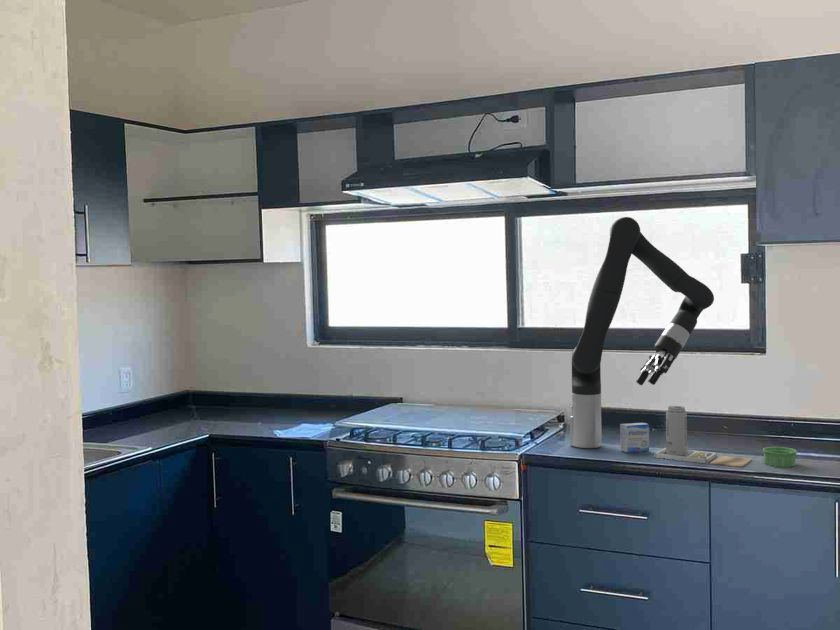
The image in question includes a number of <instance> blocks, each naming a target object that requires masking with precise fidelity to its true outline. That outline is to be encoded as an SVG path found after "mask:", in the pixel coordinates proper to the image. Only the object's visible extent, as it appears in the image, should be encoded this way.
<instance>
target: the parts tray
mask: <svg viewBox="0 0 840 630" xmlns="http://www.w3.org/2000/svg"><path fill="white" fill-rule="evenodd" d="M665 452H666V447H664V448H662V449H660V450H659V451H656V452H655V453H654V455H653V456H654V457H656V459H663V458H665V459H666V460H672V459H675V461H681V460H683V462H691V463H692V462H693V463H701V464H709V463H710V462H712V461H713V460H715V459H716V458H718V456H717V455H718V453H717V452H714V451H713V452H711V451H701V450H693V449H687V454H686V455H687V456H686V455H685V456H676V455H668V454H667V453H665ZM690 454H691V455H690ZM665 459H664V460H665Z"/></svg>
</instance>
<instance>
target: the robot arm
mask: <svg viewBox="0 0 840 630" xmlns="http://www.w3.org/2000/svg"><path fill="white" fill-rule="evenodd" d="M605 254H606V255H605V257H604V261H603V262H602V264H601V266H600V268H599V271H598V273H597V274H596V277H595V280H594V283H593V285H592V289H591V292H590V295H589V299H588V302H587V303H588V304H587V306H586V307H587V309H586V314H585V320H584V321H585V322H584V326H583V329H582V332H581V336H580V338H579V339H578V342H577V345H576V346H575V348H574V349H573V350H572V352H571V393H572V394H571V401H572V404H571V405H572V406H571V414H572V415H571V416H569V446H571V447H574V448H575V447H576V448H578V449H579V448H581V449H597V448H601V447H602V383H601V382H602V381H601V379H602V378H601V363H602V356H603V350H604V346H605V342H606V337H607V333H608V331H609V328H610V326H611V323H613V320H614V317H615V314H616V312H617V309H618V306H619V303H620V299H621V296H622V293H623V289H624V285H625V280H626V275H627V271H628V270H627V269H628V265H629V261H630V258H631V256H632V255H633V256H634V257H635V258H636V259H638V260H639V261H640V262H641V263H642V264H644V265H645V266H646V268H648V269H649V270H650V271H651V273H653V275H655V276H656V277H657V278H658V279H659V280H660V281H662V283H663V284H664V285H665V286H667V287H668V288H669V289H670V290H671V291H673V292H675V293H681V294H682V295H683V296H685V297H684V298H683V299H682V301H681V303H680V305H679V308H678V310H677V312H676V314H675V315H674V317H673V318H672V320H671V321H670V322H669V324H668V325H667V326H666V327H665V329H664V330H663V332H662V333H661V335H660V337H659V338H658V339H657V341H656V343H655V344H654V346H653V348H654V350H655V354H653V355H651V354H650V355H649V356H648V357H647V358H646V360H645V361H644V363H643V365H642V366H641V367H640V369H639V371H640V372H641V373H640V374H639V376H638V377H637V379H636V381H635V382H636V384H637V385H639V386H643V385H644V384H645V382H646V380H647V379H648V380H647V381H648V383H649V384H651V385H652V386H653V385H656V383H657V382H658V380H659V379H660V378H661V376H663V375H664V374H667V373H668V371H669V369H670V368H671V367H672V365H673V363H674V362H675V360H676V359H677V358H678V357H679V354H680V353H681V352H682V350H683V348H684V347H685V345H686V343H687V342H688V339H689V337H690V335H691V334H692V333H693V331H694V329H695V327H697V324H698V318H699V317H700V315H701V314H702V312H703V311H704V310H706V309H708V308H710V306H713V304H714V301H715V295H714V293H713V292H712V289H710V287H709V286H707V285H706V284H705V283H703V282H702V281H700V280H698V279H697V278H695V277H693V276H691V275H689V273H688V272H686V271H685V270H684V269H683V268H682V267H681V266H680V265H679V264H678V263H676V262H675V261H674V260H673V259H671V258H670V257H669V256H667V255H666V254H665V253H664V252H662V251H661V250H659V249H658V248H657V247H655V246H654V244H652V243H651V242H650V241H649V240H648V239H647V238H646V236H644V234H643V233H642V232H641V227H640V225H639V223H638V222H637V220H636V219H634V218H632V217H630V216H623V217H620V218H617V219H616V220H615V221H614V222H613V223H612V225H611V226H610V227H609V242H608V246H607V251H606V253H605ZM649 376H650V377H649ZM648 377H649V378H648Z"/></svg>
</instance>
